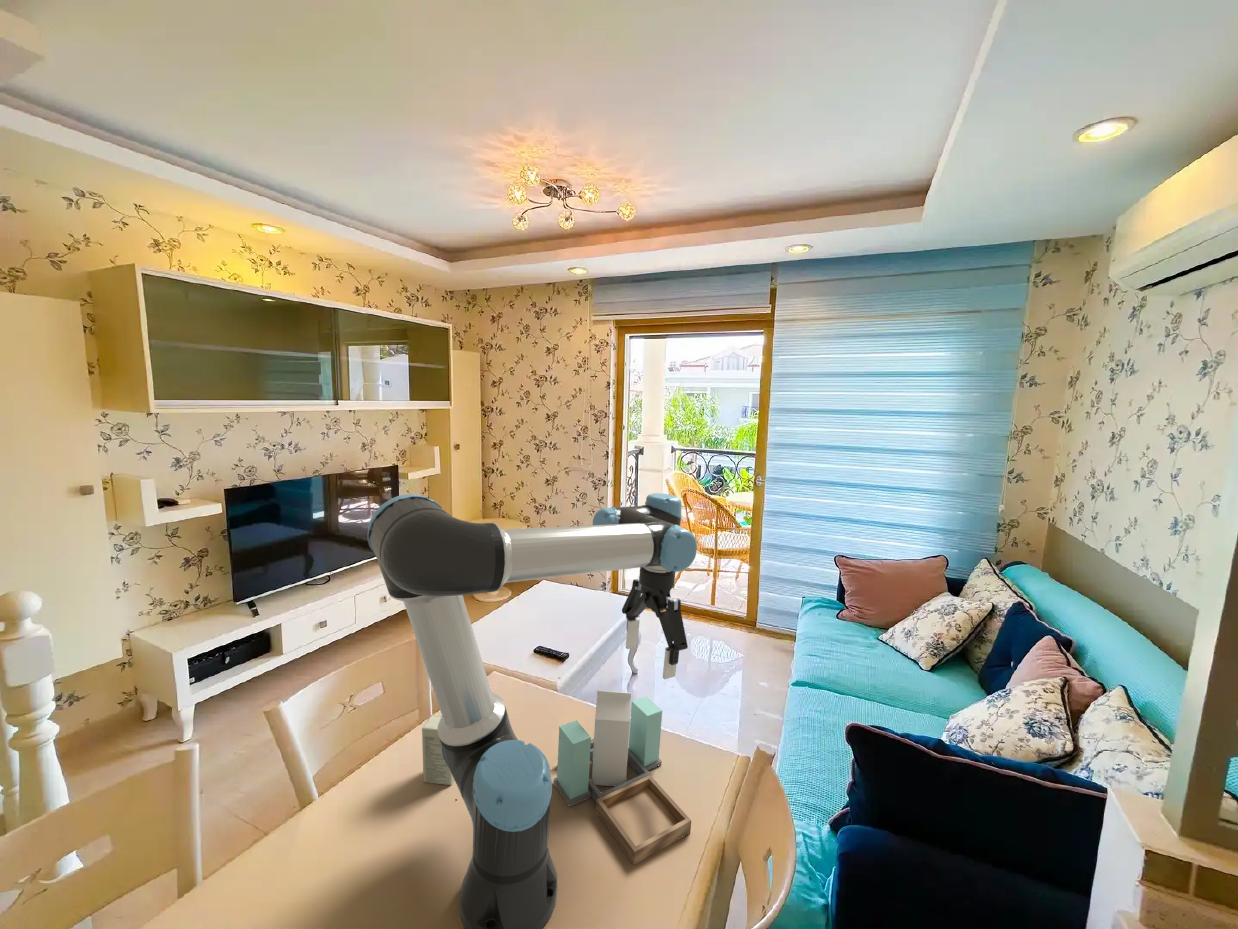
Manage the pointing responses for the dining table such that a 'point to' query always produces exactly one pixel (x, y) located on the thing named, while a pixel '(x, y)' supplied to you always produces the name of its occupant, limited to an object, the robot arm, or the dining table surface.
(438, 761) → the skincare box
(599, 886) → the dining table surface
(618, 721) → the milk carton
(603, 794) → the holder
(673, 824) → the tray
